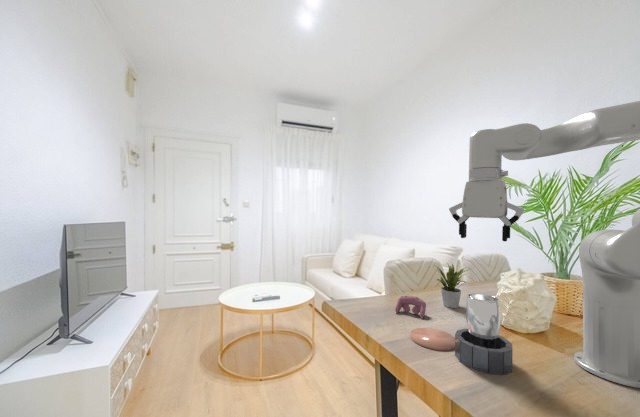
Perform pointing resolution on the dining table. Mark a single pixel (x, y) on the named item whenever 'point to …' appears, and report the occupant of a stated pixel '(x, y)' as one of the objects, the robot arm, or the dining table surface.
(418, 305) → the video game controller
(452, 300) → the house plant
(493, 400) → the dining table surface
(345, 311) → the dining table surface
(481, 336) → the beer glass
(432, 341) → the coaster
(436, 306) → the dining table surface
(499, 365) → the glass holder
